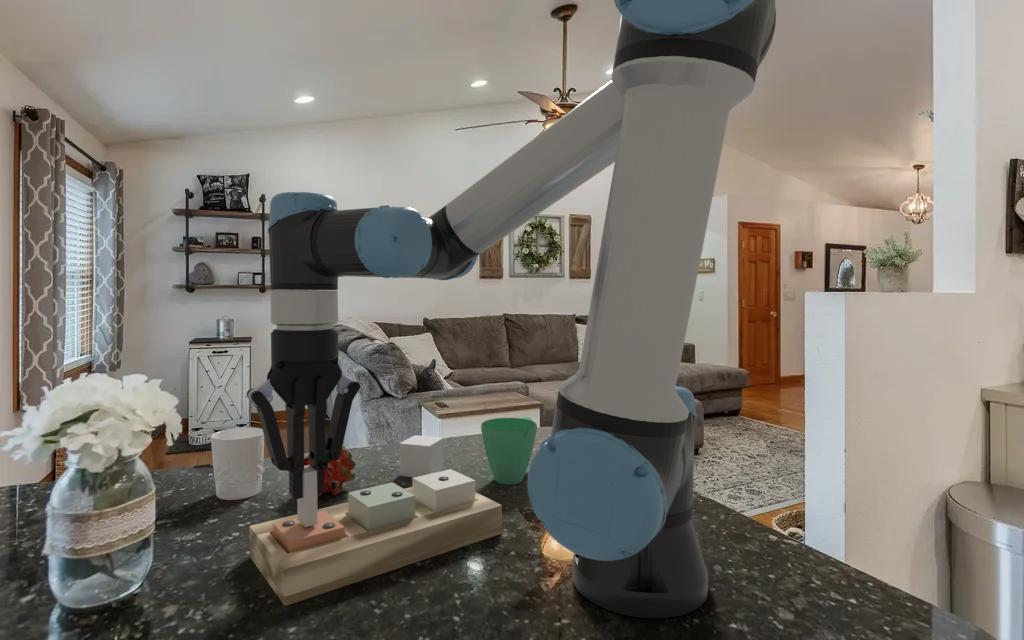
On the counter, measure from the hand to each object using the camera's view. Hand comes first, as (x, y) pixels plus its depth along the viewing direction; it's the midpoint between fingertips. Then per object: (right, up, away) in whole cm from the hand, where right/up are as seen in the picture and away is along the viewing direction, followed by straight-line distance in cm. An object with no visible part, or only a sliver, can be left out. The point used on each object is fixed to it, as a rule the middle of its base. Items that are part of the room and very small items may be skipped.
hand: (307, 521), depth 69 cm
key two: (+8, -2, +6) cm, 10 cm away
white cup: (-20, -4, +25) cm, 32 cm away
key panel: (+8, -5, +6) cm, 11 cm away
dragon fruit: (-6, -4, +25) cm, 26 cm away
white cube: (+8, -4, +36) cm, 37 cm away
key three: (0, -4, 0) cm, 4 cm away
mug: (+25, -4, +34) cm, 42 cm away
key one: (+15, -2, +12) cm, 19 cm away
